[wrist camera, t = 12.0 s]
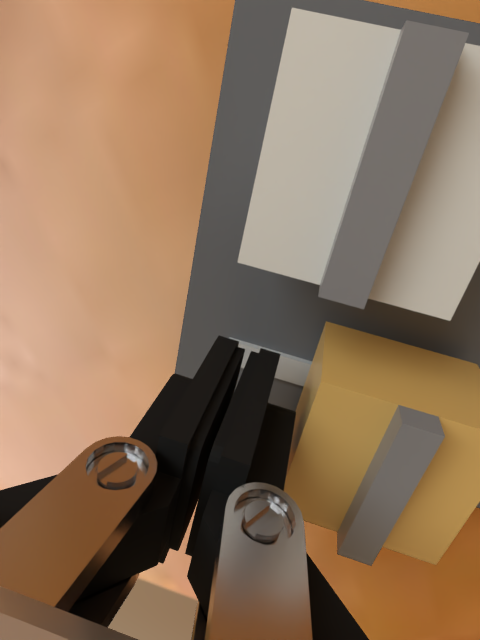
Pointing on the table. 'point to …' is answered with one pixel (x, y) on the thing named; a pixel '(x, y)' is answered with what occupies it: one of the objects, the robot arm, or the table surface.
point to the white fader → (371, 164)
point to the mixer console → (232, 209)
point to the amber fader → (386, 445)
